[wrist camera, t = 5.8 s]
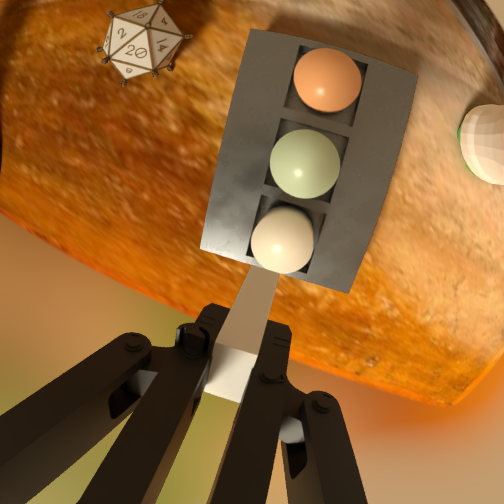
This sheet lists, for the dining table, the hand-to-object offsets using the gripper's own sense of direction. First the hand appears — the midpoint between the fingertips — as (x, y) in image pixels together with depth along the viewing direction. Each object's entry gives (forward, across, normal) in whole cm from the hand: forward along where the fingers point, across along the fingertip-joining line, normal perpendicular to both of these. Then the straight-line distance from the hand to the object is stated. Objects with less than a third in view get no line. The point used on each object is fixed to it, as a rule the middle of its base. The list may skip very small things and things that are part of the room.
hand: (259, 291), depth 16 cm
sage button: (+10, 0, +6) cm, 12 cm away
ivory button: (+11, 0, 0) cm, 11 cm away
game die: (+15, -16, +14) cm, 26 cm away
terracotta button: (+11, 0, +13) cm, 17 cm away
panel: (+15, 0, +6) cm, 16 cm away
